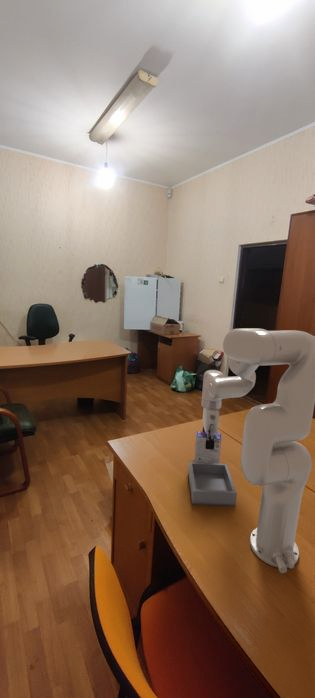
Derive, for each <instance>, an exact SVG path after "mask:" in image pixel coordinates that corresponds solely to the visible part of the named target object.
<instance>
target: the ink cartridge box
mask: <svg viewBox="0 0 315 698" xmlns="http://www.w3.org/2000/svg"><path fill="white" fill-rule="evenodd" d="M202 431H203V430H197V431H196V435H195V443H194V444H195V445H194V446H195V449H194V460H193V462H199V463H220V459H221V458H220V457H221V447H222V434H221V433H219V432H218V434H215V443H214V449H213V450H211V449H206V448H205V446H206V439H207V433H206V432H205V431H204V432H202ZM209 436H210V434H209Z"/></svg>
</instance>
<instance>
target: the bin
mask: <svg viewBox="0 0 315 698" xmlns="http://www.w3.org/2000/svg"><path fill="white" fill-rule="evenodd" d="M187 474H188V481H189V482H188V483H189V489H190V497H191V505H192V506H193V505H195V506H196V505H197V506H212V507H213V506H214V507H217V506H218V507H235V508H236V504H237V496H238V494H237V493H238V492H237V490H236V486H235V485H234V480H233V478H232V475H231V472H230V469H229V466H228V463H220V462H219V463H199V462H194V461H189V463H188V473H187Z"/></svg>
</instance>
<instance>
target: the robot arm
mask: <svg viewBox="0 0 315 698" xmlns="http://www.w3.org/2000/svg"><path fill="white" fill-rule="evenodd" d="M222 343H223V344H222V349H223V353H224V354H225V355H226V357H228V358H229V359H228V367H229V369H230V371H232V373H233V374H235V376H234V375H233V376H225V375H224V373H223V372H222V371H220V370H217V369H209V370H206V371H205V372H204V373H203V379H202V393H201V407H202V408H203V411H202V425H203V426H202V430H201V431H202V432H204V431H205V432H206V433H207V439H206V446H205V448H206V449H211V450H213V449H214V443H215V434H218V433H219V424H220V423H219V421H220V418H219V417H220V411H219V410H220V409H221V408H222V400H223V399H224V400H225V399H231V398H232V399H234V398H242V397H245V396H246V395H247V394H248V393H249V392H250V391H252V389H253V388H254V387H255V384H256V380H257V379H256V378H257V375H256V372H255V371H256V370H257V369H258V367H259V366H277V365H279V366H280V365H288V366H289V367H288V368H287V369H286V370H285V371H284V373H283V374H282V376H281V377H280V380H279V381H278V386H277V392H276V393H277V394H276V398H275V400H274V401H273V402H272V403H264V404H263V403H262V404H258V405H255V406H253V407H251V408H250V409H249V410H248V412H247V413H246V416H245V419H244V424H243V432H242V440H241V441H242V443H241V450H240V452H241V453H240V467H241V472H242V475H243V477H244V478H245V480H246V482H248V483H249V484H251V485H253V486H256V487H262V490H261V496H260V505H259V511H258V521H257V527H256V528H254V529H253V530H252V531H251V532H250V535H249V544H250V548H251V549H252V551H253V553H254V554H255V556H257V558H259V559H260V560H261V561H263V562H264V563H266V564H268V565H270V566H272V567H275V568H278V571H279V572H280V573H281V574H286V573H287V571H288V568H289V569H294V568H295V565H296V564H297V562H298V561H299V557H300V550H299V547H298V544H297V543H296V542H295V540H296V533H297V528H298V522H299V515H300V510H301V503H302V499H303V494H304V490H305V487H306V484H307V481H308V479H309V476H310V474H311V470H312V468H313V467H312V465H313V464H312V456H311V454H310V452H309V451H308V448H307V447H305V445H304V444H302V443H300V442H298V441H301V440H304V439H305V438H307V437H308V436H309V434H310V431H311V428H312V422H313V416H314V410H315V336H314V335H313V334H311V333H309V332H306V331H303V330H296V329H293V330H291V329H290V330H287V329H286V330H285V329H284V330H267V329H264V328H258V327H257V328H254V327H253V328H250V327H249V328H245V327H244V328H233V329H231V330H229V331H228V332H227V333H226V334H225V336H224V338H223V342H222ZM209 434H210V436H209Z"/></svg>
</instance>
